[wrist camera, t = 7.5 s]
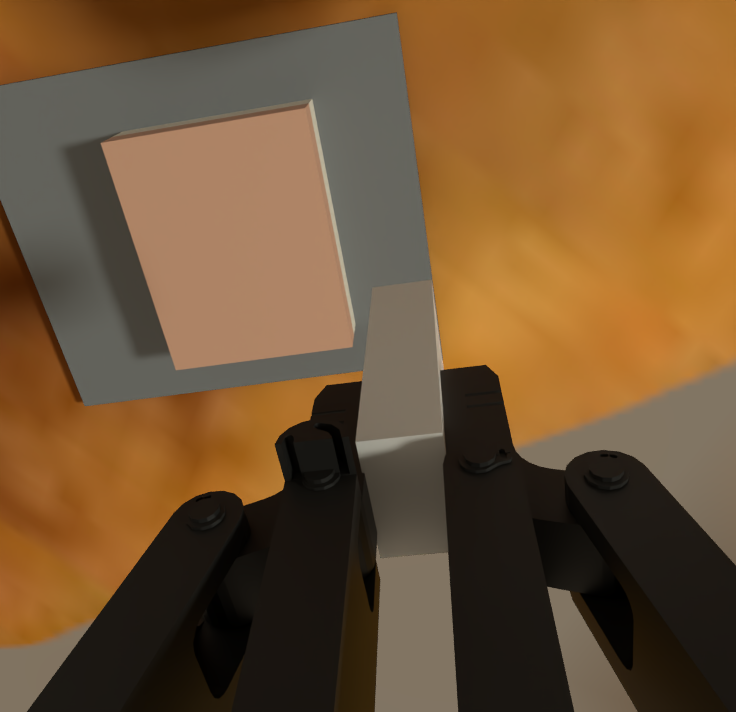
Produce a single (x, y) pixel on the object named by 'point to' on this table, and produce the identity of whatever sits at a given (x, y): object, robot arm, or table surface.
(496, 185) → the table surface
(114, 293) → the mat
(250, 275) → the tile
